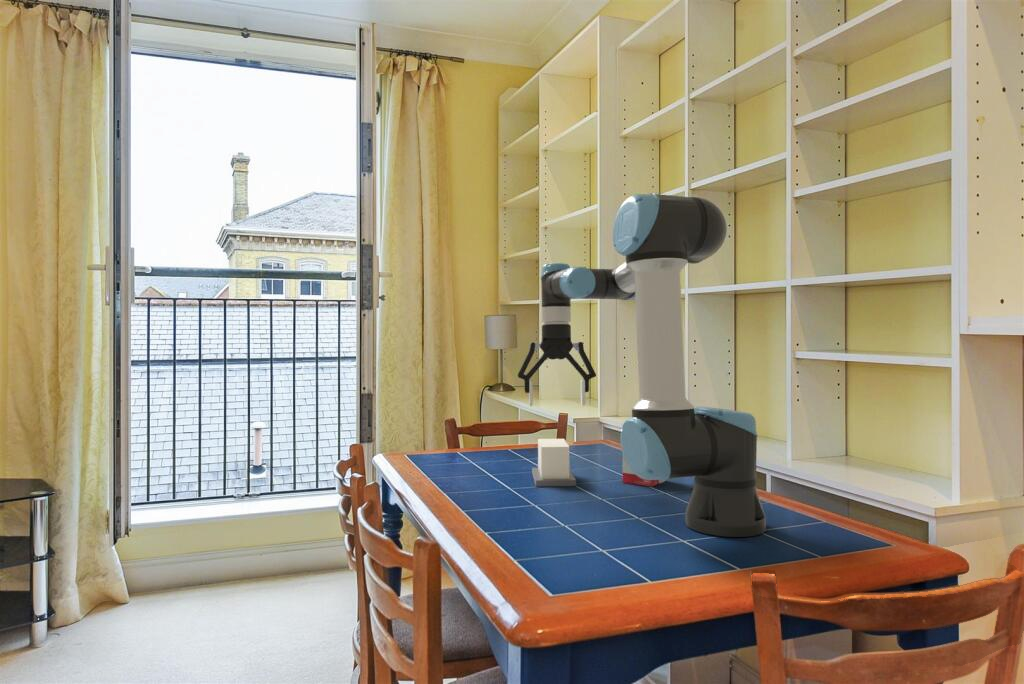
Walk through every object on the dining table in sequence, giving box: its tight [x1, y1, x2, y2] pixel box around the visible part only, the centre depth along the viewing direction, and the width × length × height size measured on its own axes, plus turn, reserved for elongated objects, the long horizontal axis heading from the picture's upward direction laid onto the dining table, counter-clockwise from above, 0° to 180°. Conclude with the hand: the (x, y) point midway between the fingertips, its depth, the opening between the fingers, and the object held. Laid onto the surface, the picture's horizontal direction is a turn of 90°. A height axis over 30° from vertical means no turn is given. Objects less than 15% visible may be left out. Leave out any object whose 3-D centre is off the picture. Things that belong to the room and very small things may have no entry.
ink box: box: [621, 454, 667, 487], centre depth 173 cm, size 9×9×12 cm
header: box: [531, 466, 577, 488], centre depth 177 cm, size 16×10×6 cm, turn 2°
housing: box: [537, 438, 570, 479], centre depth 177 cm, size 13×7×8 cm, turn 2°
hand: (556, 405), depth 177 cm, fingers open, 13 cm apart
